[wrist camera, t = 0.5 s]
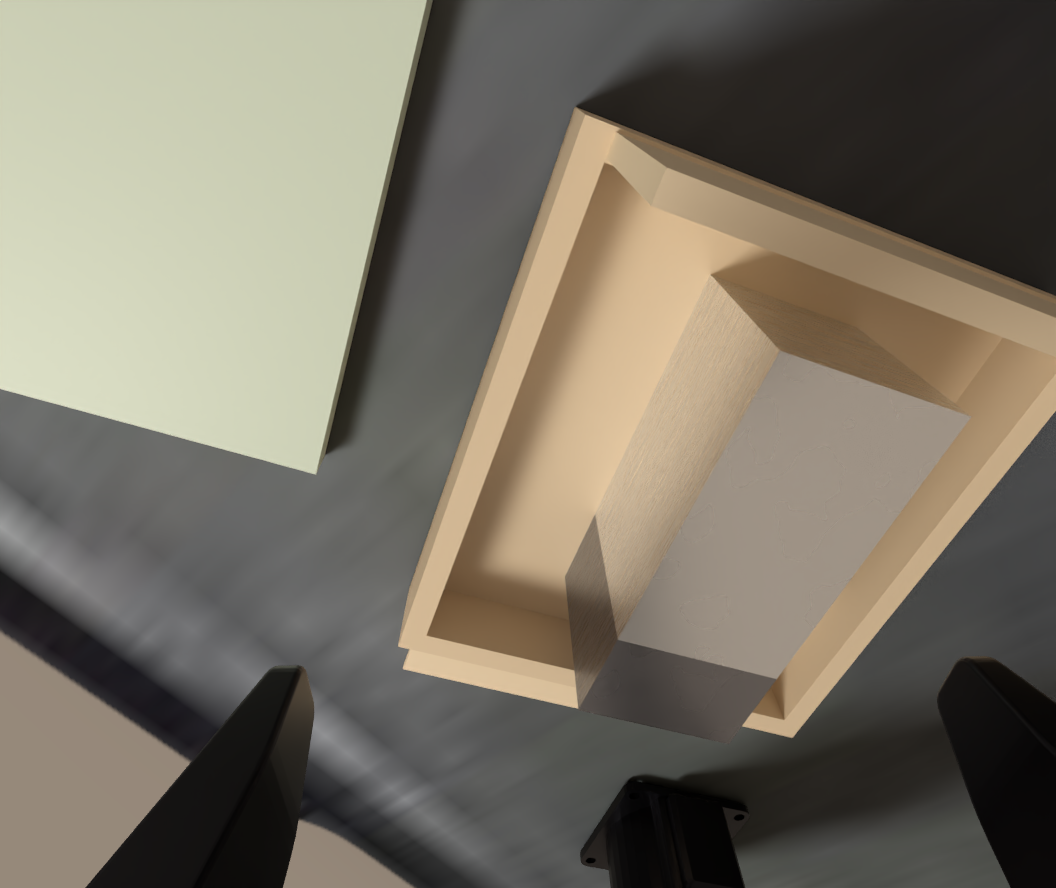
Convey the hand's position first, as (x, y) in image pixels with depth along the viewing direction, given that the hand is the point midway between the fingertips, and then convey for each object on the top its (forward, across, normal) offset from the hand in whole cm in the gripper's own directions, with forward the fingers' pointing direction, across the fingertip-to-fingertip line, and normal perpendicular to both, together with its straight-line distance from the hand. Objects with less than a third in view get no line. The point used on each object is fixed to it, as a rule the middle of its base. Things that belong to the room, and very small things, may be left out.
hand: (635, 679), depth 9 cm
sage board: (+14, +10, -2) cm, 18 cm away
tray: (+13, -4, +7) cm, 16 cm away
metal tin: (+13, -5, +6) cm, 15 cm away
